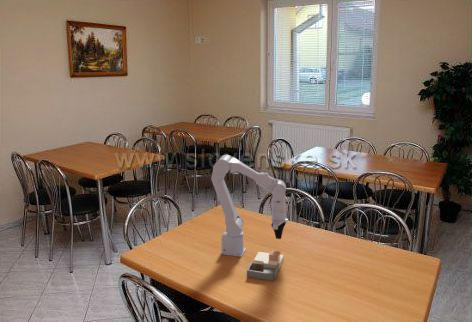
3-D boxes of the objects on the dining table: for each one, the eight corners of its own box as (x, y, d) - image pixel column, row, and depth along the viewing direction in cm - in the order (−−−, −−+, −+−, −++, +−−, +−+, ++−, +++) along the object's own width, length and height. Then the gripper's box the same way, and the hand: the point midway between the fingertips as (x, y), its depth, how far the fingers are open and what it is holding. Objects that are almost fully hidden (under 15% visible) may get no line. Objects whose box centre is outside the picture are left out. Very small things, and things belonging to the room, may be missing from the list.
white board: (253, 265, 165) (253, 261, 164) (258, 255, 173) (258, 251, 173) (279, 269, 161) (279, 265, 161) (283, 259, 170) (283, 255, 169)
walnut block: (254, 268, 162) (252, 272, 160) (254, 260, 161) (252, 263, 159) (263, 270, 161) (262, 273, 158) (263, 261, 160) (262, 264, 157)
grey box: (247, 277, 157) (247, 270, 156) (253, 265, 165) (253, 259, 164) (274, 281, 153) (274, 274, 152) (279, 269, 161) (279, 263, 161)
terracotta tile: (268, 260, 165) (268, 254, 165) (271, 255, 169) (271, 250, 168) (278, 261, 164) (278, 256, 163) (280, 256, 168) (280, 251, 167)
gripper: (284, 216, 161) (284, 246, 164) (291, 203, 174) (290, 232, 177) (267, 214, 163) (267, 244, 166) (275, 202, 176) (275, 230, 179)
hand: (278, 238), depth 172 cm, fingers closed
